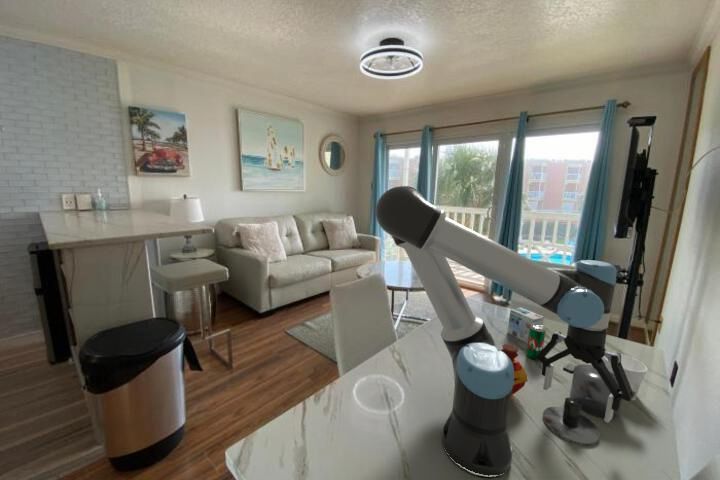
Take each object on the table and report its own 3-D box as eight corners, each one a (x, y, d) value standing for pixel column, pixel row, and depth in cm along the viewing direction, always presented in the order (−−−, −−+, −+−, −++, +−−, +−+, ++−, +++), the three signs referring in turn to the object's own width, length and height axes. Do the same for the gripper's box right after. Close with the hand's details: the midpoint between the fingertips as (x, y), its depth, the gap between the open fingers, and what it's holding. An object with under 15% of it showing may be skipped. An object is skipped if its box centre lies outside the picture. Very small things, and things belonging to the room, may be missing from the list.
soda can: (537, 353, 113) (541, 323, 111) (544, 361, 108) (548, 329, 106) (523, 352, 114) (527, 322, 112) (529, 360, 109) (533, 328, 107)
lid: (585, 453, 71) (589, 426, 69) (533, 420, 81) (536, 396, 80) (607, 432, 77) (611, 408, 76) (556, 404, 87) (559, 381, 86)
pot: (620, 430, 78) (627, 399, 76) (553, 395, 90) (558, 367, 89) (634, 414, 84) (641, 384, 82) (570, 382, 97) (574, 356, 95)
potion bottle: (502, 409, 84) (508, 359, 81) (478, 385, 94) (483, 340, 91) (532, 403, 86) (540, 355, 84) (506, 381, 96) (512, 337, 94)
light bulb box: (506, 332, 129) (509, 308, 127) (517, 330, 132) (520, 306, 130) (529, 345, 120) (533, 319, 118) (540, 341, 123) (544, 316, 121)
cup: (594, 389, 94) (599, 359, 92) (602, 377, 100) (607, 349, 99) (637, 407, 86) (644, 376, 85) (643, 393, 93) (649, 363, 91)
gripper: (662, 342, 66) (644, 428, 69) (541, 304, 86) (532, 372, 90) (652, 351, 62) (634, 443, 65) (527, 310, 82) (519, 381, 85)
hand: (575, 402), depth 77 cm, fingers open, 13 cm apart
